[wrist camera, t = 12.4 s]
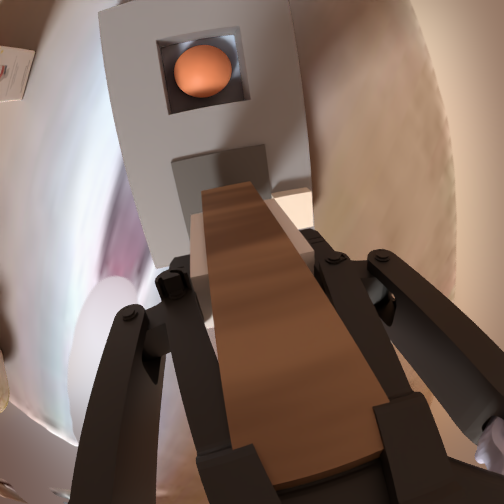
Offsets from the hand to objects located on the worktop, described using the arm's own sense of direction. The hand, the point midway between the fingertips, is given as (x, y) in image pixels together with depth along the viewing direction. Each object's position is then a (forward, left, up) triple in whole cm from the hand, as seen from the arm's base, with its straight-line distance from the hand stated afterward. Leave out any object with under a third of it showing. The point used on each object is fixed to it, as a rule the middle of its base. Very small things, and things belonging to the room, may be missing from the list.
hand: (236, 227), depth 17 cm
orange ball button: (-10, 0, -9) cm, 13 cm away
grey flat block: (-6, 0, -9) cm, 11 cm away
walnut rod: (0, 0, -4) cm, 4 cm away
